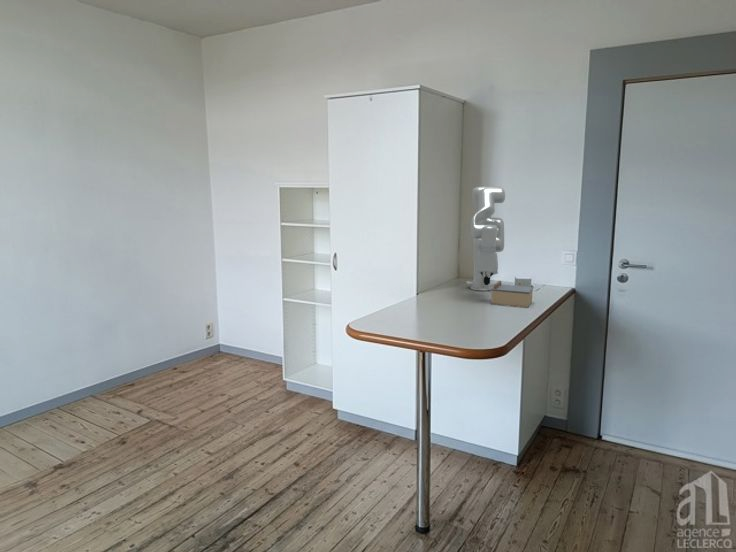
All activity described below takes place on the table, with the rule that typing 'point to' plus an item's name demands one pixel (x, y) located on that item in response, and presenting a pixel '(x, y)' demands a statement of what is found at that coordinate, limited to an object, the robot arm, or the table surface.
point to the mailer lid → (511, 288)
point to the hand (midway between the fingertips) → (486, 284)
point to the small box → (523, 281)
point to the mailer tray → (512, 298)
